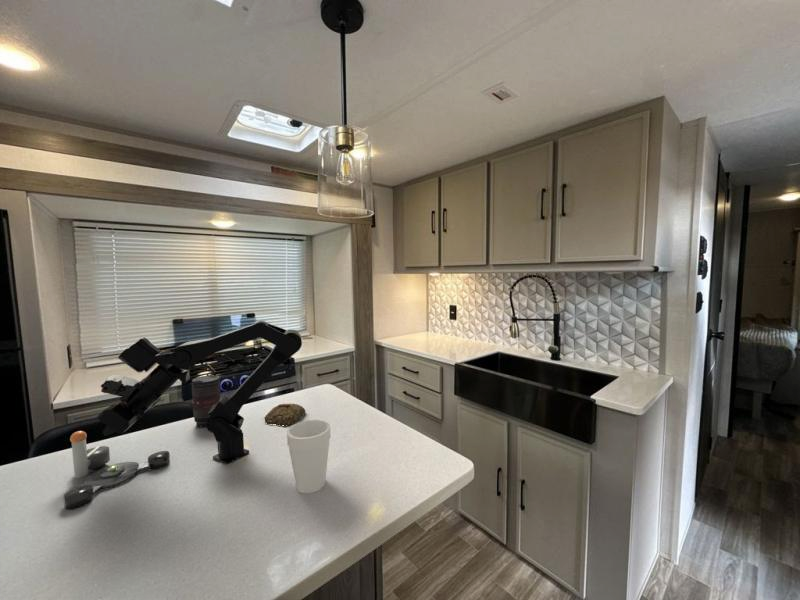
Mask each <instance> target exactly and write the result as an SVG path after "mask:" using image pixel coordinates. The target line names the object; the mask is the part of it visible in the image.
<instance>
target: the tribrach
mask: <svg viewBox="0 0 800 600" xmlns="http://www.w3.org/2000/svg"><path fill="white" fill-rule="evenodd" d="M170 462H171V459H170V452H169V451H168V450H163V451H162V450H161V451H157V452H154V453H151V454H150V455H149V456H148V457H147V462H142V463H138V462H135V461H125V462H120V463H119V462H118V463H114V464H112V465H108V464H107V463H106V464H104V465H102V466H100V467H98V468H95V469H91V470H88V471H89V473H88V474H90V475H89V476H87V477H86V478H85V479H84V480H83V481H84V482H83V485H81V486H78V487H75V488H72V489H71V490H69V491H67V492H65V493H64V495H63V500H64V510H66V511H72V510H77V509H79V508H83V507H85V506H86V505H89V504H90V503H92V501H93V500H94V497H95V496H96V495H98V494H99V493H100V492H102V491H103V490H107V489H112V488H115V487H117V486H120V485H122V484H125V483H126V482H128V481H130V480H132V479H133V478H135V477H136V476H137V475H138V474H139V473H144V472H147V471H156V470H159V469H163V468H166V467H167V466H168V465H170Z"/></svg>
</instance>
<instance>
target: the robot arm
mask: <svg viewBox="0 0 800 600" xmlns="http://www.w3.org/2000/svg"><path fill="white" fill-rule="evenodd" d="M257 338H260V339H263V340H265V341H266V342H268V343H271V344H272V345H273V346H274V347H273V348H272V350H271V351H270V353H269V355H267V356H266V358H265V359H264V360H263V361H262V362H261V363H260V364H259V365H258V366H257V368H256V369H255V370H253V372H251V374H250V375H249V376H248V377H247V379H245V380H244V381H243V383H241V385H240V386H238V387H237V389H236V390H235V391H234V392H233V393H232V394H231V395H229V396H228V397H227V395H226V394H222V396H220V400H219V402H217V403H216V404H214V405H213V406H212V408H211V410H210V411H209V413H208V414H207V415H209V417H208V418H207V420H206V427H205V428H206V429H207V431H208V432H209V433H211V434H212V435H213V436H214V439H215V440H216V443H217V452H218V453H217V454H214V455H213V456H212V460H216V461H218V462H222V463H224V464H226V465H229V464H231V463H233V462H235V461H236V460H238V459H240V458H242V457H244V456H246V455H247V454H249V453H250V450H249V449H247V448H245V446H244V445H245V443H244V442H245V441H244V432H243V430H242V429H241V428H242V426H243V423H244V420H245V418H244V416H242V415H240V414H239V413H240V411H241V409H242V408H243V406H244V405H245V403H246V402H247V401H249V399H251V397H252V396H253V395H254V394H255V392H256V391H257V390H258V389H259V388H260V387H261V386H262V384H263V383H264V382H265V381H266V380H267V379H268V378H269V377H270V376H271V375H272V374H273V373H274V371H275V370H276V369H277V368H278V367H279V365H281V364H283V363H284V362H285V361H287V360H289V359H290V358H291V357H292V356H294V355H295V354H297V352H299V351H300V350H301V348H302V345H303V341H302V335H301V333H299V331H297V330H296V329H285V328H282V327H279V326H277V325H273V324H271V323H268V321H265V320H258V321H257V322H255V323H252V324H250V325H245V326H243V327H240V328H238V329H235V330H231V331H229V332H226V333H223V334H220V335H218V336H215V337H211V338H205V339H197V340H192V341H186V342H184V343H181V344H180V345H178V346H176V347H173V348H167V349H166V350H165V349H164V350H163V351H162V350H161V349H160V348H159V347H157V346H155V345H154V344H153V343H151V341H150V340H149V339H148V338H146V337H142V338H139V340H137V341H136V342H134V343H133V344H132V345H130V346H129V347H128V348H126V349H124V350H123V351H122V352H121V353H120V354H119V355H118V357H117V359H118V360H120V361H121V362H122V363H124V364H126V365H127V366H128V367H129V368H131V369H133V371H135V372H137V373H143V372H145V373H147V372H149V371H150V372H149V373H148V375H146V377H143V378H142V379H141V380H140V381H139V380H138V379H137V380H136V379H135V378H132V377H129V376H125V375H122V374H119V373H118V374H117V373H116V374H115V373H114V374H113V375H111V376H108V377H107V378H106V380H105V381H104V382H103V383H102V384H101V385H100V388H101V390H100V391H101V393H103V394H108V395H113V396H118V397H120V398H118V399H119V401H120V402H118V403H117V404H111V405H110V406H108V407H107V408H105V409H104V410H102V411H101V412H100V413H99V414H98V415H97V416H96V418H97V420H98V421H100V422H101V423H103V424H104V425H106V426H105V428H104V429H103V431H102V434H103V435H104V436H106V437H107V436H109V435H111V434H114V433H118V434H124V433H125V432H126V431H127V430H128V429H129V428H131V427H132V425H134V424H135V423H136V422H137V421H138V420H139V419H140V418H142V417H143V416H144V415H145V414H146V412H147V411H148V410H149V409H153V408H154V407H155V406H156V405H157V404H158V403H159V402H160V401H161V398H162V396H163V395H165V394H166V392H167V391H168V390H169V389H170V388H171V387H172V386H173V385H174V384H175V383H176V382H177V381H178V380H179V381H180V382H182V383H183V384H186V383H187V382H188V381H189V380H190V379H191V376H190V371H191V370H190V369H189V368H190V367H192V366H194V365H196V364H198V363H200V362H202V361H203V360H205V359H207V358H208V357H210V356H212V355H213V354H215V353H216V354H217V353H219V352H222V351H224V350H227V349H229V348H230V349H231V348H232V347H236V346H238V345H241V344H243V343H247V342H249V341H253V340H255V339H257ZM156 365H157V366H156ZM155 366H156V367H155ZM154 367H155V368H154ZM153 368H154V369H153ZM152 369H153V370H152ZM151 370H152V371H151Z"/></svg>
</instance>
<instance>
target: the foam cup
mask: <svg viewBox="0 0 800 600" xmlns="http://www.w3.org/2000/svg"><path fill="white" fill-rule="evenodd" d="M286 438H287V440H286V442H287V446H288V449H289V455H290V461H291V465H292V467H291V468H292V471H293V476H294V482H295V487H296V490H297V491H298V492H299V493H301V494H313V493H315V492H319V491H320V490H321V489H323V488H324V486H325V484H326V479H327V468H328V459H329V449H330V448H329V447H330V440H331V426H330V423H329V422H327V421H325V420H320V419H307V420H304V421H303V420H302V421H299V422H295V423H293V424H291V425H290V426H289V428H287V430H286ZM322 487H323V488H322Z"/></svg>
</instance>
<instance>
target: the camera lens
mask: <svg viewBox="0 0 800 600" xmlns="http://www.w3.org/2000/svg"><path fill="white" fill-rule="evenodd" d="M221 389H222V388H221V380H220V376H218V375H203V376H199V377H196V378H193V379H192V383H191V394H192V395H191V396H192V404H191V405H192V407H193V409H192V410H193V411H192V413H193V419H194V422H195V423H196V426H197V427H198V426H200V427H199V428H206V420H207V418H208V417H209V415H207V414H208V413H209V411H210V410H211V408H212V406H213V405H214V404H216V403H217V402H219V400H220V399H221Z"/></svg>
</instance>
